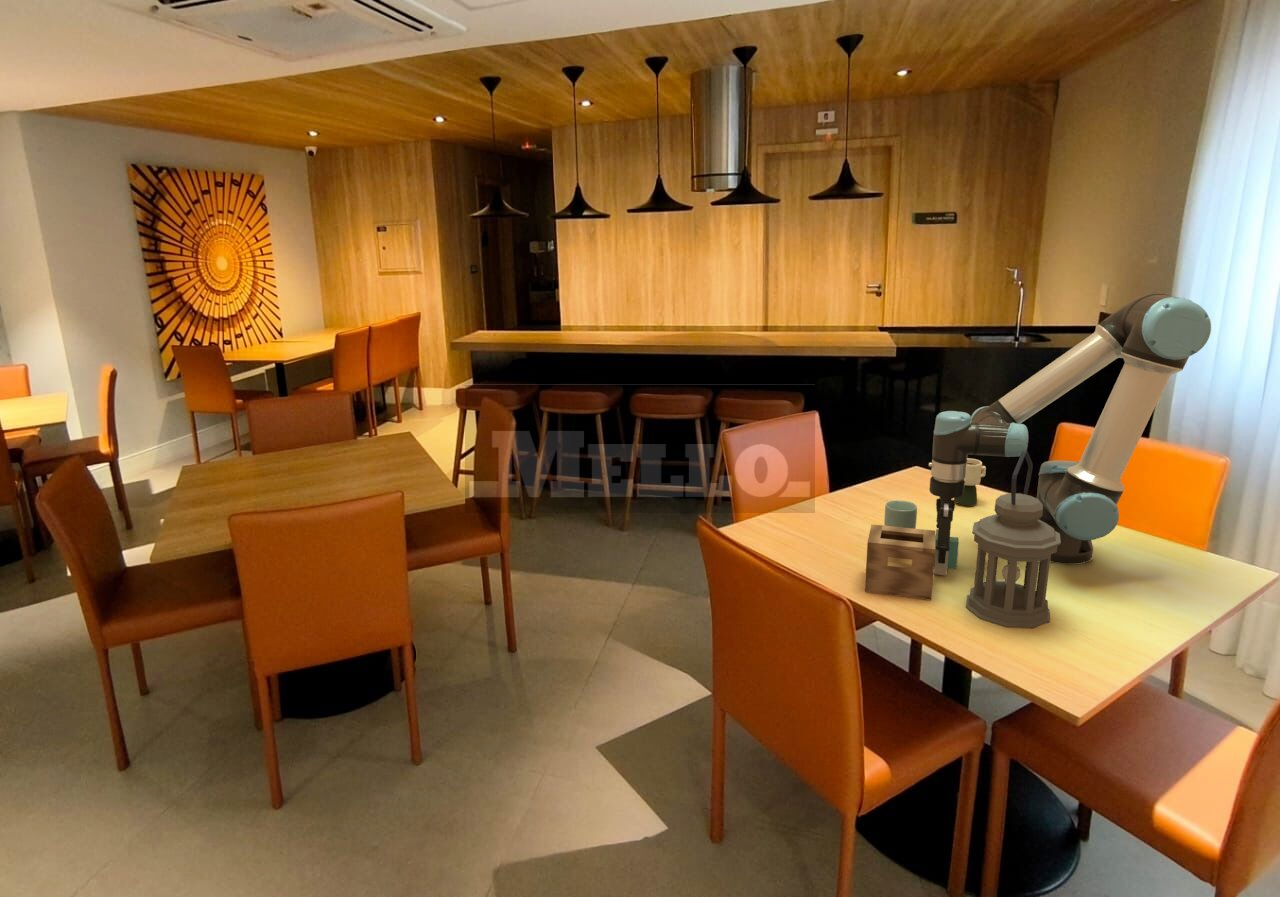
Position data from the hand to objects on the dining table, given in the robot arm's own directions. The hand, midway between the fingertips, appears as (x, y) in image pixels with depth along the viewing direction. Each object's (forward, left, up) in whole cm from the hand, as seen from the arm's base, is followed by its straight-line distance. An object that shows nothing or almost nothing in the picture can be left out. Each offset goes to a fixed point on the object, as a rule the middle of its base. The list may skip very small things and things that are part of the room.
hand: (940, 564), depth 181 cm
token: (0, 0, 0) cm, 0 cm away
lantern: (-13, +19, 0) cm, 23 cm away
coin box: (+9, +14, 0) cm, 17 cm away
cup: (+10, -12, 0) cm, 16 cm away
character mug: (-7, -46, 0) cm, 47 cm away
